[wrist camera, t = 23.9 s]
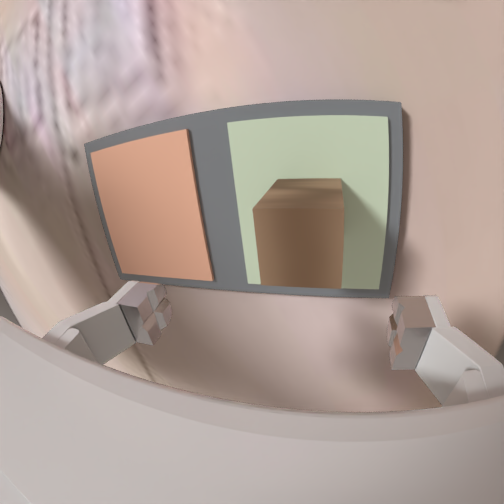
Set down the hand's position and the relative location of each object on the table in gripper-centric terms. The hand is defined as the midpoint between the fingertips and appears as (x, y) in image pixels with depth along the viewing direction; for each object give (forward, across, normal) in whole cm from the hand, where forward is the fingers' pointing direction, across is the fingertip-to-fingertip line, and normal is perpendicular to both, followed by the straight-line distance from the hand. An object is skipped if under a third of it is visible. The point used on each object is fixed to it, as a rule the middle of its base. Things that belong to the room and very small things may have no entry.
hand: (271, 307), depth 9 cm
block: (+10, -1, 0) cm, 10 cm away
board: (+12, +6, 0) cm, 13 cm away
